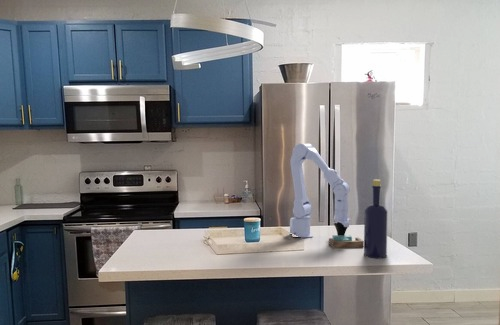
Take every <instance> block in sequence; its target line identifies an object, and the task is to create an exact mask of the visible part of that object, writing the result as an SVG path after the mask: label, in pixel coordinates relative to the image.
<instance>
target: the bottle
mask: <svg viewBox="0 0 500 325" xmlns="http://www.w3.org/2000/svg"><path fill="white" fill-rule="evenodd" d="M381 181H382V180H381V179H373V180H372V187H371V188H372V204H369V205H368V206H367V207H366V208H365V210H364V226H363V228H364V230H363V234H364V236H363V241H364V245H363V255H364V256H365V255H366V257H367V256H368V257H367V258H371V259H378V258H379V259H386V258H387V257H388V224H389V223H388V219H389V216H388V212H389V211H388V209H387V208H386V206H385V205H381V204H380V203H381V189H382V186H381Z"/></svg>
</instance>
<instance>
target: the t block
mask: <svg viewBox="0 0 500 325" xmlns="http://www.w3.org/2000/svg"><path fill="white" fill-rule="evenodd" d="M332 239H333V240H334V241H353V237H352V235H351V234H350V235H348V234H347V235H346V234H345V235H335V234H334V235H332Z"/></svg>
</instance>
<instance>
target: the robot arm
mask: <svg viewBox="0 0 500 325" xmlns="http://www.w3.org/2000/svg"><path fill="white" fill-rule="evenodd" d="M306 159H307V160H311V161H312V162H313V163H314V164H315V165H316V166H317V168H319V169H320V170H321V171H322V173H323V178H324V179H325V180H326V182H327V183H328V184H329V185H330V187H331V188H332V192H333V194H334V198H335V199H334V216H333V221H334V223H333V225H334V227H335V230H336V234H337V235H346V232H347V229H348V228H349V227H350V221H351V218H349V192H350V190H351V188H350V185H349V183H348V182H346V181H345V180H344V179H342V177H341V176H340V175H339V172H338V171H337V170H335V169H334V168H330V167H329V166H328V164H327V163H326V161H325V160H324V158H323V157H322V156H321V155H320V153H319V152H318V150H317V149H316V147H314V145H312V144H311V143H303V142H301V143H297V144H296V145H295V146H294V147H293V149H292V154H291V157H290V160H289V163H290V170H291V176H292V183H293V191H294V196H295V197H294V200H293V207H292V214H293V217H290V219H289V234H290V233H292V234H294V235H296V236H298V237H301V238H313V235H312V234H311V214H312V212H313V206H312V204H311V202H310V198H308V196H307V191H306V183H305V176H304V170H303V163H304V162H305V161H306Z"/></svg>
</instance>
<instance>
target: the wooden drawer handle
mask: <svg viewBox="0 0 500 325" xmlns="http://www.w3.org/2000/svg"><path fill="white" fill-rule="evenodd" d="M328 244H329V246H331V248H333V249H340V248H341V249H342V248H344V249H345V248H346V249H347V248H364V240H363V239H361V238H359V237H355V240H352V241H334V240H333V239H332V238H331V237H329V238H328Z"/></svg>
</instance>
